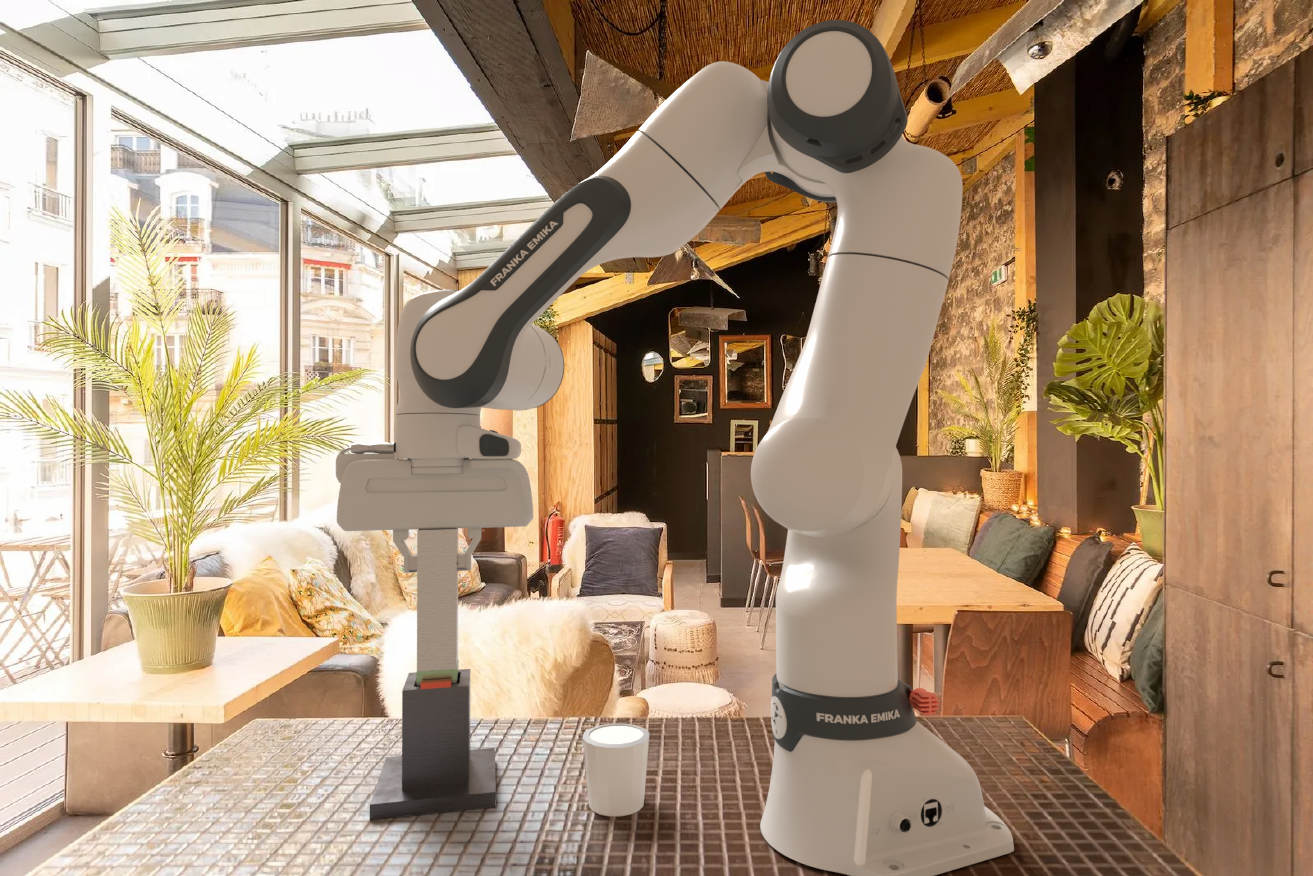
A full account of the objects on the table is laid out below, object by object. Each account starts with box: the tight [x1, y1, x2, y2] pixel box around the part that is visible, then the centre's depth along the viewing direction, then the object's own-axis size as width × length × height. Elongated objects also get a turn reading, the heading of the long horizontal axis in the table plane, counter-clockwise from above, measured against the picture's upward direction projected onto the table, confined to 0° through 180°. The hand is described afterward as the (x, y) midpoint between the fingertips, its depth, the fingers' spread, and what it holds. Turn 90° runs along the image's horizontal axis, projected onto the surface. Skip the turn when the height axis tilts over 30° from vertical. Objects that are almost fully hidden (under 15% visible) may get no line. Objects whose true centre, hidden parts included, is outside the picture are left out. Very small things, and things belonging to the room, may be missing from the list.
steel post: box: [415, 528, 460, 687], centre depth 81 cm, size 4×4×18 cm
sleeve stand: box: [369, 668, 497, 821], centre depth 80 cm, size 12×12×12 cm
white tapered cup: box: [582, 723, 650, 817], centre depth 77 cm, size 7×7×7 cm
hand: (438, 571), depth 81 cm, fingers closed on steel post, 4 cm apart
